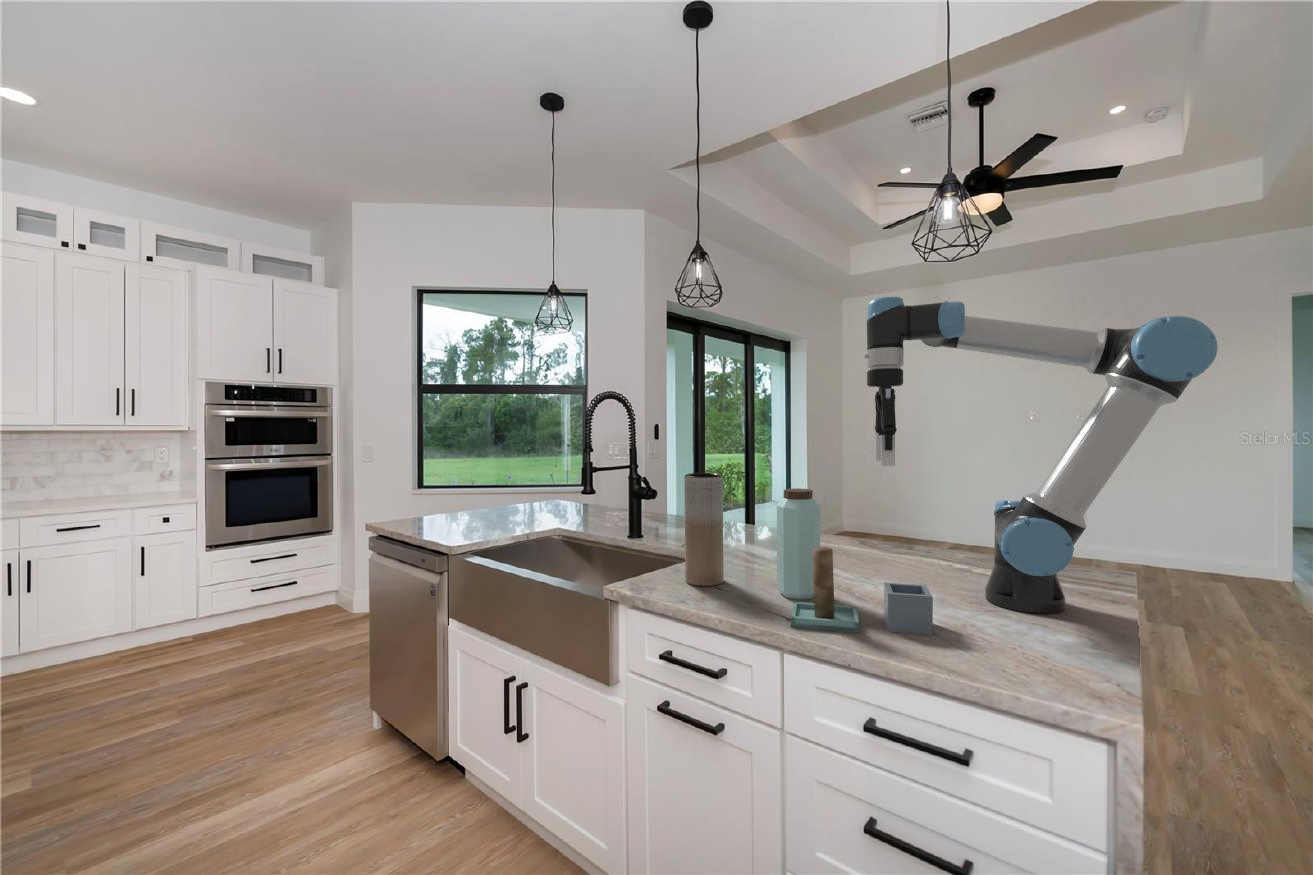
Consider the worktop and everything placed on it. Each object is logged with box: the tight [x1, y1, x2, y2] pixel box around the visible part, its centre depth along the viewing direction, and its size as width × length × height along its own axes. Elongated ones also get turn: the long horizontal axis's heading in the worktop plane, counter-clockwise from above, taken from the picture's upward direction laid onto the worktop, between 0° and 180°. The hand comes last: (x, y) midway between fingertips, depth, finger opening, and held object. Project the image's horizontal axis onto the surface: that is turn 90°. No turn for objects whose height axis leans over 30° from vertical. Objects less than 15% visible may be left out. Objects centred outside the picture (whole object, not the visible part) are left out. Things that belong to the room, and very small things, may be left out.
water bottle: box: [776, 487, 821, 601], centre depth 136 cm, size 10×10×25 cm
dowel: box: [812, 546, 835, 619], centre depth 118 cm, size 4×4×14 cm
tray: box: [790, 601, 860, 634], centre depth 118 cm, size 13×10×2 cm
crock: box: [883, 581, 934, 636], centre depth 115 cm, size 8×8×8 cm
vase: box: [683, 472, 725, 587], centre depth 148 cm, size 10×10×28 cm
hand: (884, 463), depth 128 cm, fingers open, 13 cm apart
